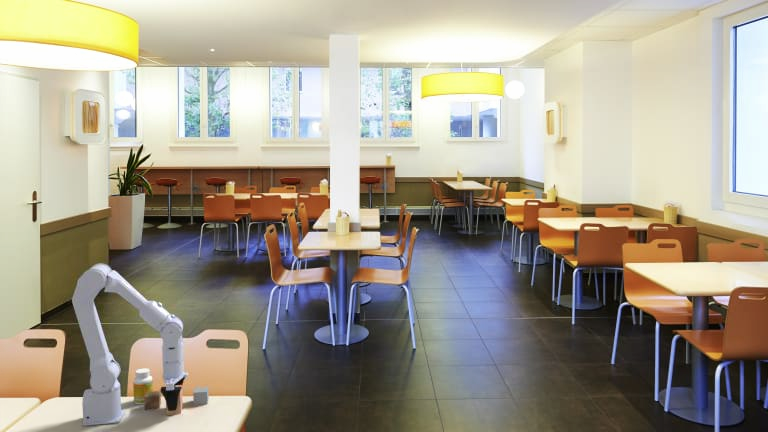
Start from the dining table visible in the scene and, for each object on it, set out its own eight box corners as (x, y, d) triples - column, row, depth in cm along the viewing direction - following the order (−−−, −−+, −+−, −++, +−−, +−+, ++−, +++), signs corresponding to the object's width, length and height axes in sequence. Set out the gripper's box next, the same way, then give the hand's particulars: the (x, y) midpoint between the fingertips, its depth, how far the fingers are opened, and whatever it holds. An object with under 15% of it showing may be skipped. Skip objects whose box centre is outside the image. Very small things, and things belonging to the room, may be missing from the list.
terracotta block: (166, 414, 161) (165, 391, 161) (168, 408, 165) (167, 386, 165) (180, 413, 162) (180, 390, 162) (182, 407, 166) (182, 385, 165)
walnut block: (144, 410, 164) (144, 397, 164) (146, 405, 168) (146, 392, 168) (159, 409, 165) (159, 396, 165) (161, 403, 169) (160, 390, 169)
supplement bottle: (147, 405, 168) (146, 374, 167) (130, 404, 168) (129, 373, 167) (156, 397, 173) (155, 367, 172) (139, 397, 173) (138, 367, 172)
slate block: (193, 405, 168) (193, 392, 167) (195, 400, 172) (194, 387, 171) (207, 404, 169) (207, 391, 168) (208, 399, 172) (208, 386, 172)
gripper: (184, 367, 156) (185, 414, 157) (190, 350, 170) (191, 393, 171) (157, 369, 155) (159, 416, 156) (165, 352, 169) (167, 395, 170)
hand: (174, 404), depth 163 cm, fingers open, 7 cm apart
